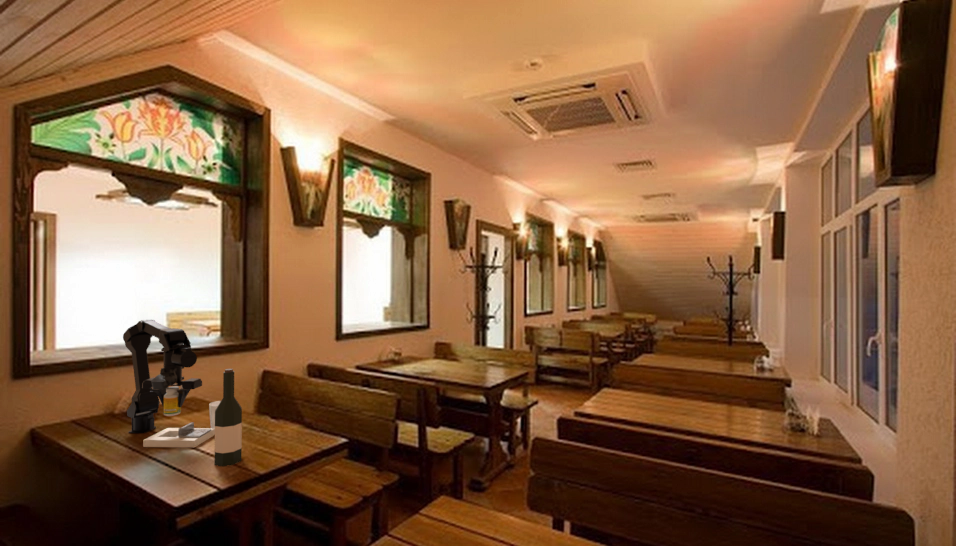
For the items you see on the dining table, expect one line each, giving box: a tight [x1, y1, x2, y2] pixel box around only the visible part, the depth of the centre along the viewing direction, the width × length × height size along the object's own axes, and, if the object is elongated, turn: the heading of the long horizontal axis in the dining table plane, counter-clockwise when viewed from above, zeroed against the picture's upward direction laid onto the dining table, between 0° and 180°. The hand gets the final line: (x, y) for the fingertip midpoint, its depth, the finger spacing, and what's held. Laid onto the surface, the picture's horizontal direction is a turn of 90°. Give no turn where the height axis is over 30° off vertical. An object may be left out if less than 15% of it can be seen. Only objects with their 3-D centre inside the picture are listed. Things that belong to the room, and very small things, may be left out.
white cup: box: [208, 400, 221, 428], centre depth 188 cm, size 8×8×10 cm
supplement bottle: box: [163, 386, 182, 417], centre depth 174 cm, size 5×5×10 cm
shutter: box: [178, 421, 211, 438], centre depth 174 cm, size 8×8×3 cm
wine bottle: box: [214, 368, 243, 467], centre depth 156 cm, size 8×8×30 cm
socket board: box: [142, 427, 215, 448], centre depth 174 cm, size 18×13×2 cm
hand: (172, 407), depth 174 cm, fingers closed on supplement bottle, 5 cm apart
